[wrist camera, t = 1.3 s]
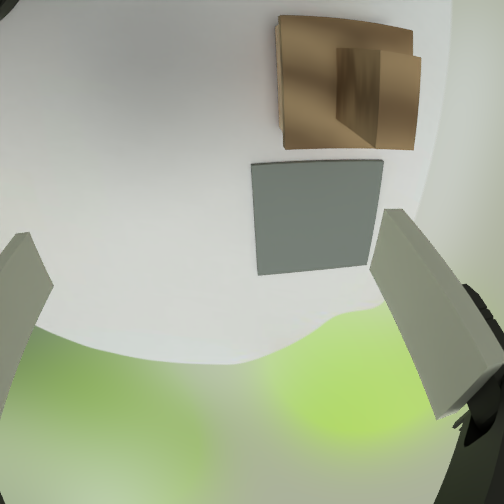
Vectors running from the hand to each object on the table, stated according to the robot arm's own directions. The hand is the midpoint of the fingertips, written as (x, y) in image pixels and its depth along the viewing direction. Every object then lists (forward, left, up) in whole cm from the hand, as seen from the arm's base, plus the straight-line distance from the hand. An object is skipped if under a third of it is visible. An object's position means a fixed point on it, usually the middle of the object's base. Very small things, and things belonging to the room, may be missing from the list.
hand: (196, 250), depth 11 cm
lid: (-3, +13, -21) cm, 24 cm away
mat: (+16, +12, -27) cm, 33 cm away
